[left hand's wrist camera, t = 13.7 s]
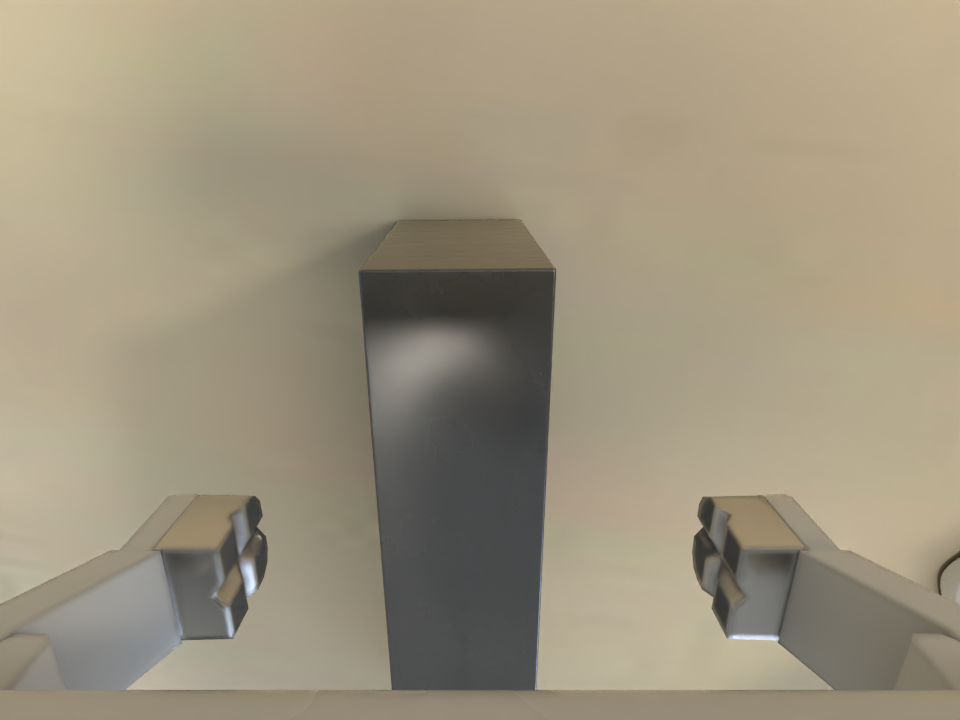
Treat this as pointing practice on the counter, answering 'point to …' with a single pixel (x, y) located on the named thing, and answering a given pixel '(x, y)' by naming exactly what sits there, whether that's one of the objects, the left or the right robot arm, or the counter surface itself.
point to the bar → (460, 446)
